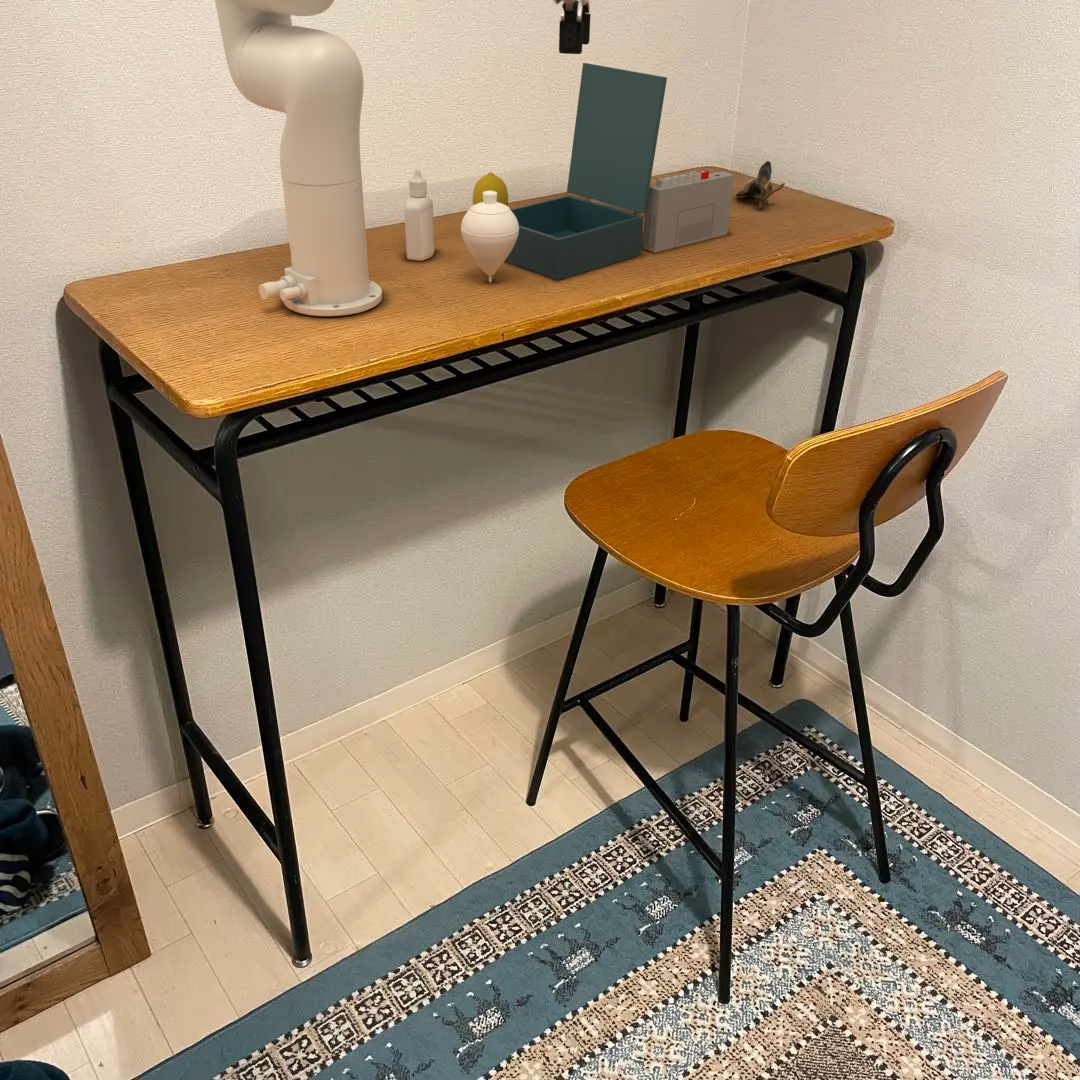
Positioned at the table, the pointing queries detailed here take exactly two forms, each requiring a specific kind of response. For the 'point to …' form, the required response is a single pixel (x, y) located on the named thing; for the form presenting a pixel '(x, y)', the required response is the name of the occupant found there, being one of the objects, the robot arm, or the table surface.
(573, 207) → the chest
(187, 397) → the table surface
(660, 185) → the cassette player
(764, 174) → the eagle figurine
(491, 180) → the lemon
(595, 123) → the lid
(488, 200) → the spinning top
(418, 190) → the eye dropper bottle
